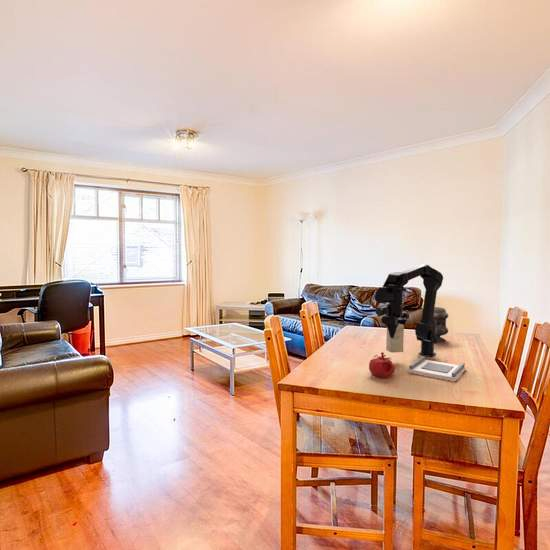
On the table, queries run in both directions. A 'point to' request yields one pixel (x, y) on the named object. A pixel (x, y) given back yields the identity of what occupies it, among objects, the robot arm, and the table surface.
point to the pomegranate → (381, 366)
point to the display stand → (437, 369)
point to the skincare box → (395, 340)
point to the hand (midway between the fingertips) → (395, 336)
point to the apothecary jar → (440, 322)
